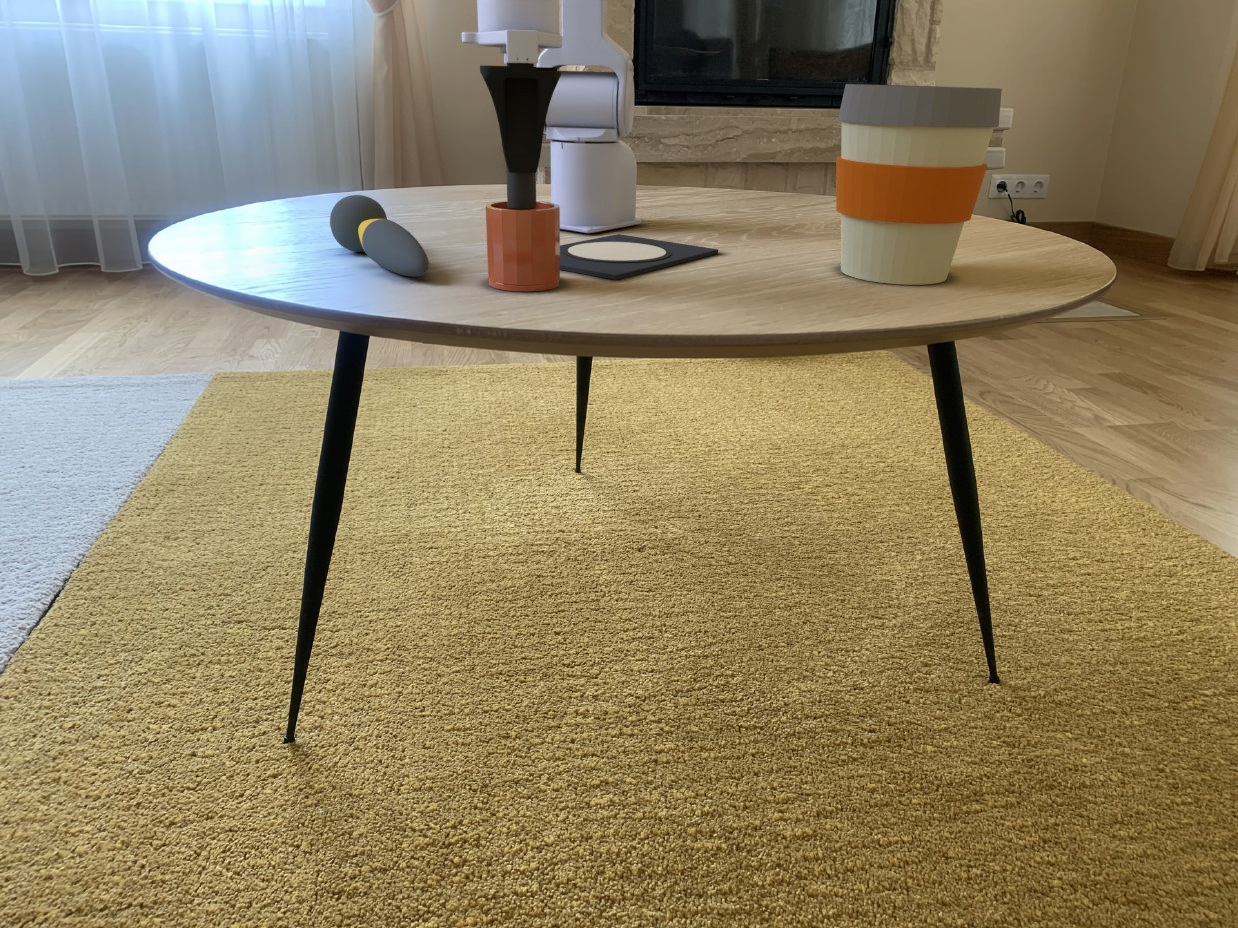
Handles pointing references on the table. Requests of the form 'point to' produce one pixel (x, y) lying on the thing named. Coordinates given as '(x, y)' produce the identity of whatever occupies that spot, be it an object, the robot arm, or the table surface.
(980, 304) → the table surface
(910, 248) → the reusable coffee cup
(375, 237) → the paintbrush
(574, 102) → the robot arm
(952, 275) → the table surface
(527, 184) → the marker
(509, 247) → the pen pot
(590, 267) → the dark grey rectangular pad
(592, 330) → the table surface
